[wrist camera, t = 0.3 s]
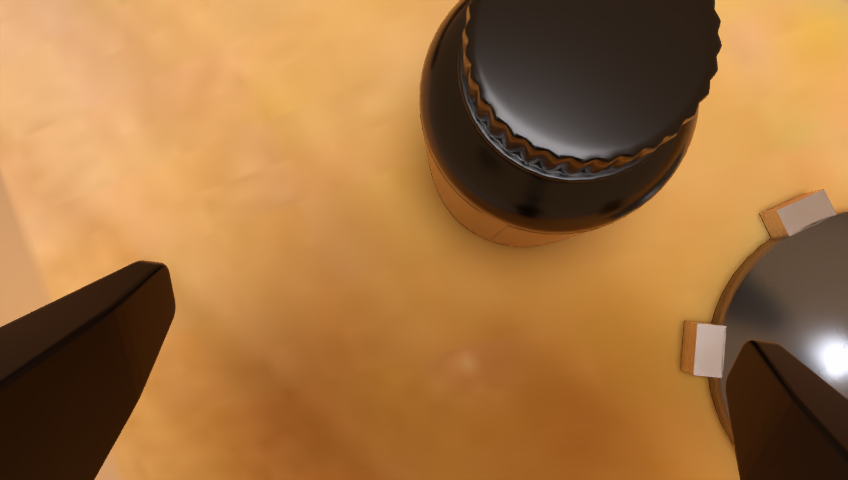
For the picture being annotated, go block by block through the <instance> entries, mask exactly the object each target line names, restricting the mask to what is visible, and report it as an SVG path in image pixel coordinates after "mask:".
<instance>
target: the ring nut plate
mask: <svg viewBox="0 0 848 480" xmlns="http://www.w3.org/2000/svg"><path fill="white" fill-rule="evenodd" d="M760 216H761V218H762V220H763V222H764V224H765V226H766V228H767V230H768V232H769V234H770V236H771V239H770V240H768V241H767V242H765V243H764V244H763V245H761V246H760V247H759V248H758V249H757V250H756V251H754V252H753V253H752V254H751V255H750V256H749V257H748V258H747V259H746V260H745V261H744V262H743V264H742V265H741V266H740V267H739V269H738V270H737V271H736V272H735V274H734V275H733V276H732V278H731V280H730V281H729V283H728V285H727V286H726V288H725V290H724V291H723V293H722V296H721V298H720V300H719V303H718V305H717V307H716V310H715V313H714V317H713V320H712V323H703V322H693V321H684V334H683V347H682V360H681V370H683V371H685V372H687V373H690V374H692V375H698V376H708V377H709V384H710V390H711V394H712V397H713V401H714V405H715V408H716V411H717V413H718V416H719V418H720V421H721V423H722V426H723V427H724V429H725V431H726V433H727V434H728V436H729V438H730V440H731V442H732V443H733V445H734V440H733V434H732V428H731V422H730V416H729V410H728V404H727V398H726V390H725V386H726V380H727V376H728V374H729V372H730V370H731V368H732V366H733V364H734V362H735V360H736V358H737V356H738V354H739V352H740V350H741V348H742V346H743V345H744V343H745V342H746V341H748V340H752V339H754V340H762V341H770V342H775V343H778V344H779V345H781V346H782V347H783V348H785V349H786V350H787V351H788V352H790V353H791V354H792V355H793V356H795V357H796V358H797V359H798V360H800V361H801V362H802V363H803V364H805V365H806V366H807V367H808V368H810V369H811V370H812V371H813V372H815V373H816V374H817V375H818V376H820V377H821V378H822V379H823V380H825V381H826V382H827V383H828V384H830V385H831V386H832V387H833V388H835V389H836V390H837V391H838V392H839V393H841V394H842V395H843V396H844V397H846V398H847V399H848V212H843V213H837V214H836V212H835V210H834V208H833V206H832V204H831V202H830V200H829V198H828V196H827V195H826V193H825V191H824V189H823V190H818V191H814V192H810V193H805V194H803V195H800V196H798V197H796V198H794V199H791V200H789V201H787V202H785V203H783V204H780V205H778V206H776V207H774V208H772V209H769V210H767V211H765V212H763V213H760Z"/></svg>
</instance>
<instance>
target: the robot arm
mask: <svg viewBox="0 0 848 480" xmlns="http://www.w3.org/2000/svg"><path fill="white" fill-rule="evenodd" d="M174 314H175V298H174V293H173V288H172V283H171V278H170V273H169V270H168V268H167V266H166V265H165V264H163V263H159V262H151V261H137V262H135V263H132V264H130V265H128V266H126V267H124V268H122V269H120V270H118V271H116V272H114V273H112V274H110V275H108V276H106V277H103V278H101V279H99V280H97V281H95V282H93V283H91V284H89V285H87V286H85V287H83V288H81V289H79V290H77V291H74V292H72V293H70V294H68V295H66V296H64V297H62V298H60V299H58V300H56V301H54V302H52V303H50V304H48V305H45V306H44V307H41V308H39V309H37V310H35V311H33V312H31V313H29V314H27V315H25V316H23V317H21V318H19V319H16V320H14V321H12V322H10V323H8V324H6V325H4V326H2V327H0V480H94V479H95V477H96V476H97V474H98V472H99V470H100V468H101V467H102V465H103V463H104V461H105V459H106V458H107V456H108V454H109V452H110V451H111V449H112V447H113V445H114V444H115V442H116V440H117V438H118V436H119V435H120V433H121V431H122V429H123V427H124V426H125V424H126V422H127V420H128V419H129V417H130V415H131V413H132V411H133V409H134V408H135V406H136V404H137V402H138V400H139V398H140V396H141V394H142V391H143V389H144V387H145V385H146V382H147V380H148V378H149V375H150V373H151V370H152V368H153V366H154V363H155V361H156V358H157V356H158V354H159V351H160V349H161V347H162V344H163V342H164V339H165V337H166V335H167V332H168V330H169V328H170V325H171V323H172V320H173V318H174ZM725 390H726V398H727V404H728V410H729V416H730V422H731V428H732V434H733V440H734V446H735V452H736V458H737V464H738V470H739V475H740V480H848V399H847V398H846V397H844V396H843V395H842V394H841V393H839V392H838V391H837V390H836V389H835V388H833V387H832V386H831V385H830V384H828V383H827V382H826V381H825V380H823V379H822V378H821V377H820V376H818V375H817V374H816V373H815V372H813V371H812V370H811V369H810V368H808V367H807V366H806V365H805V364H803V363H802V362H801V361H800V360H798V359H797V358H796V357H795V356H793V355H792V354H791V353H790V352H788V351H787V350H786V349H785V348H783V347H782V346H781V345H779V344H778V343H775V342H770V341H762V340H754V339H752V340H748V341H746V342H745V343H744V345H743V346H742V348H741V350H740V352H739V354H738V356H737V358H736V360H735V362H734V364H733V366H732V368H731V370H730V372H729V374H728V376H727V380H726V386H725Z"/></svg>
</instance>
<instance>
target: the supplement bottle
mask: <svg viewBox="0 0 848 480" xmlns="http://www.w3.org/2000/svg"><path fill="white" fill-rule="evenodd" d="M714 8H715V0H460V1H459V2H458V3H457V4H456V5H455V6H454V7H453V8H452V10H451V11H450V12H449V13H448V15H447V16H446V18H445V19H444V20H443V22H442V23H441V25H440V27H439V28H438V30H437V32H436V34H435V35H434V38H433V40H432V42H431V44H430V46H429V49H428V52H427V55H426V58H425V62H424V66H423V70H422V76H421V83H420V116H421V123H422V129H423V134H424V139H425V144H426V149H427V154H428V159H429V165H430V170H431V174H432V177H433V181H434V184H435V186H436V189H437V191H438V193H439V195H440V197H441V199H442V201H443V203H444V204H445V206H446V207H447V209H448V210H449V211H450V213H451V214H452V215H453V216H454V217H455V218H456V219H457V220H458V221H459V222H460V223H461V224H462V225H463V226H465V227H466V228H467V229H469V230H470V231H472V232H473V233H475V234H477V235H478V236H480V237H482V238H485V239H487V240H489V241H492V242H495V243H498V244H503V245H508V246H515V247H530V246H538V245H544V244H549V243H552V242H556V241H559V240H563V239H566V238H569V237H572V236H575V235H579V234H582V233H585V232H588V231H591V230H595V229H598V228H600V227H603V226H606V225H608V224H611V223H613V222H615V221H617V220H619V219H621V218H623V217H625V216H627V215H628V214H630V213H632V212H633V211H635V210H636V209H638V208H640V207H641V206H642V205H644V204H645V203H646V202H648V201H649V200H650V199H651V198H652V197H653V196H654V195H656V194H657V193H658V192H659V191H660V190H661V189H662V188H663V186H664V185H665V184H666V183H667V182H668V181H669V180H670V178H671V177H672V175H673V174H674V173H675V171H676V170H677V168H678V167H679V165H680V163H681V161H682V160H683V158H684V156H685V154H686V152H687V150H688V147H689V145H690V143H691V140H692V137H693V134H694V131H695V127H696V122H697V118H698V110H699V103H700V102H701V101H702V100H704V99H705V98H706V97H707V96H708V94H709V89H710V80H711V79H712V78H713V76H714V75H715V74H716V72H717V71H718V66H717V58H716V57H717V54H718V53H719V51H720V49H721V46H722V45H721V41H720V38H719V35H718V29H719V27H720V22H721V21H720V19H719V16H718V15H717V13H716V11H715V10H714Z"/></svg>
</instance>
